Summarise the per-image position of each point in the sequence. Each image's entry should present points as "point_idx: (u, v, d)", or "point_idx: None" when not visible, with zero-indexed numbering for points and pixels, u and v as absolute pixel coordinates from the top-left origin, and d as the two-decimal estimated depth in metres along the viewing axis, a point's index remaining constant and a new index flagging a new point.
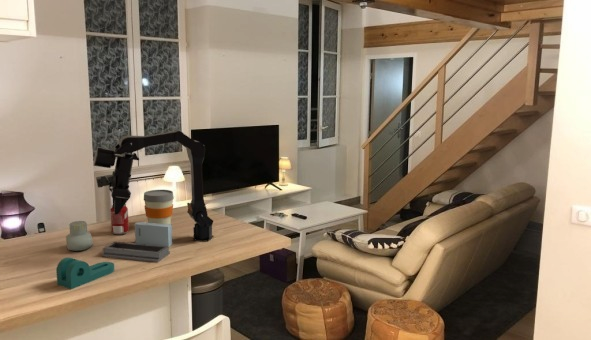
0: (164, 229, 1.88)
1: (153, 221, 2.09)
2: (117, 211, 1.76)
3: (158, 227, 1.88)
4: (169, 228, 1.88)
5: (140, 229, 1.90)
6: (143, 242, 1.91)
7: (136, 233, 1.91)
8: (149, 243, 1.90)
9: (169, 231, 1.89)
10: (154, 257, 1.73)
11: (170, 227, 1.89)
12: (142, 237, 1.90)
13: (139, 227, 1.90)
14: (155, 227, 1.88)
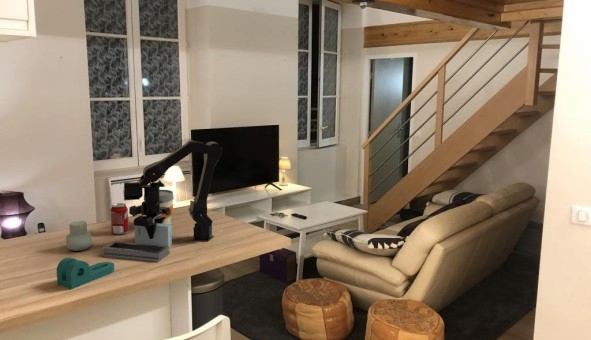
0: (164, 228, 1.88)
1: None
2: (151, 236, 1.89)
3: (158, 227, 1.88)
4: (169, 228, 1.88)
5: (139, 228, 1.90)
6: (143, 242, 1.91)
7: (136, 233, 1.91)
8: (149, 243, 1.90)
9: (169, 231, 1.89)
10: (154, 257, 1.73)
11: (170, 227, 1.89)
12: (142, 237, 1.90)
13: (139, 227, 1.90)
14: None
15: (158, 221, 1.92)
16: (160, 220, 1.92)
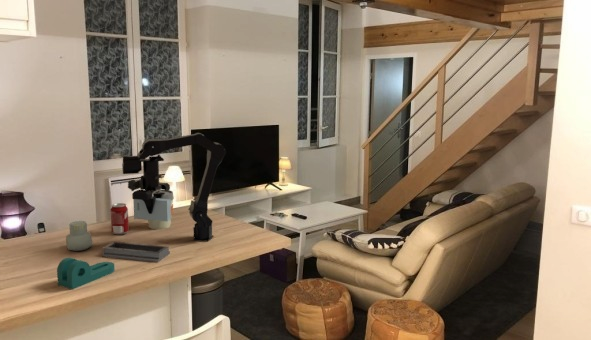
0: (163, 203, 1.86)
1: (153, 221, 2.09)
2: (150, 210, 1.87)
3: (157, 201, 1.86)
4: (168, 202, 1.87)
5: (138, 203, 1.88)
6: (142, 217, 1.89)
7: (135, 208, 1.89)
8: (148, 218, 1.88)
9: (168, 205, 1.87)
10: (154, 257, 1.73)
11: (169, 201, 1.87)
12: (141, 211, 1.88)
13: (138, 201, 1.88)
14: None
15: (158, 196, 1.90)
16: (159, 195, 1.90)
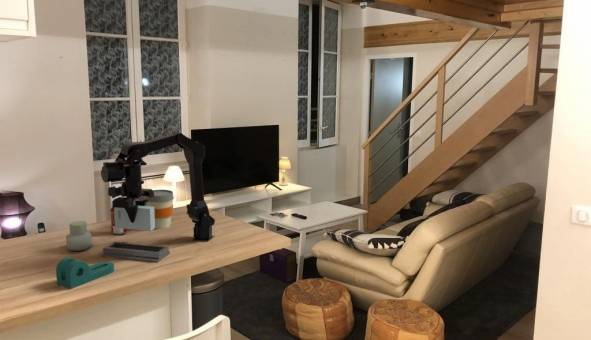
0: (146, 211, 1.73)
1: None
2: (132, 219, 1.74)
3: (139, 209, 1.74)
4: (151, 210, 1.74)
5: (119, 211, 1.76)
6: (123, 226, 1.76)
7: (116, 216, 1.76)
8: (130, 227, 1.76)
9: (151, 213, 1.74)
10: (154, 257, 1.73)
11: (152, 209, 1.75)
12: (123, 220, 1.76)
13: (119, 209, 1.76)
14: None
15: (140, 204, 1.77)
16: (142, 202, 1.77)
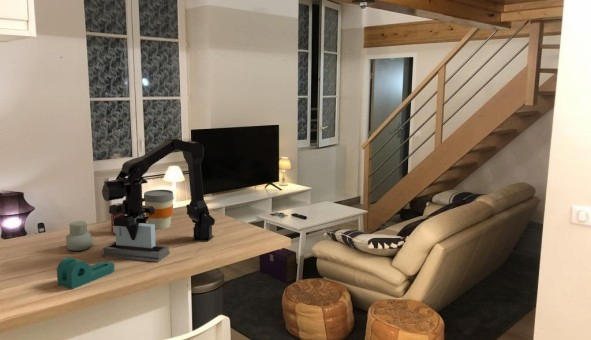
0: (146, 229, 1.75)
1: (153, 221, 2.09)
2: (132, 237, 1.76)
3: (140, 227, 1.75)
4: (152, 228, 1.75)
5: (120, 229, 1.77)
6: (124, 243, 1.78)
7: (117, 233, 1.78)
8: (131, 244, 1.77)
9: (152, 231, 1.76)
10: (154, 257, 1.73)
11: (153, 227, 1.76)
12: (124, 237, 1.77)
13: (120, 227, 1.77)
14: None
15: (141, 221, 1.79)
16: (143, 220, 1.78)
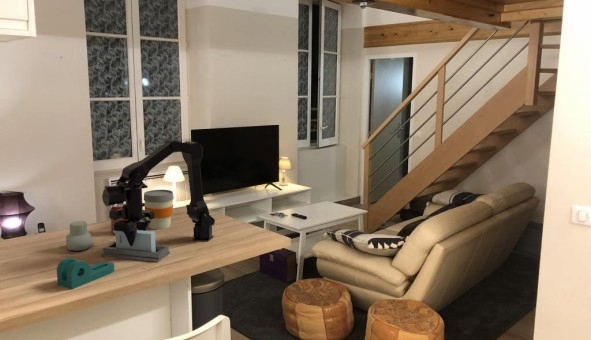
0: (147, 236, 1.75)
1: (153, 221, 2.09)
2: (131, 243, 1.75)
3: (140, 234, 1.75)
4: (152, 235, 1.76)
5: (121, 236, 1.77)
6: None
7: (117, 241, 1.78)
8: None
9: (152, 238, 1.76)
10: (154, 257, 1.73)
11: (153, 234, 1.77)
12: (124, 245, 1.78)
13: (120, 234, 1.77)
14: (137, 234, 1.76)
15: (143, 225, 1.80)
16: (145, 223, 1.80)
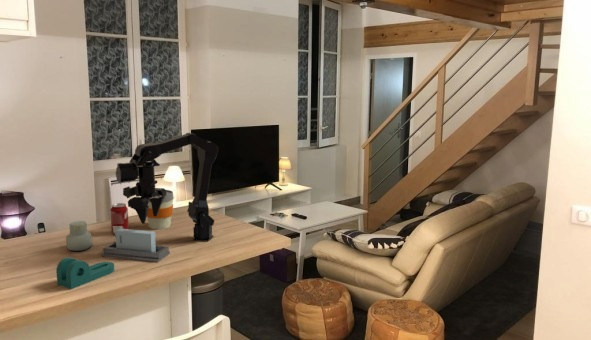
0: (147, 236, 1.75)
1: (153, 221, 2.09)
2: (142, 220, 1.78)
3: (140, 234, 1.75)
4: (152, 235, 1.76)
5: (121, 236, 1.77)
6: None
7: (117, 241, 1.78)
8: None
9: (152, 238, 1.76)
10: (154, 257, 1.73)
11: (153, 234, 1.77)
12: (124, 245, 1.78)
13: (120, 234, 1.77)
14: (137, 234, 1.76)
15: (158, 201, 1.87)
16: (159, 199, 1.87)
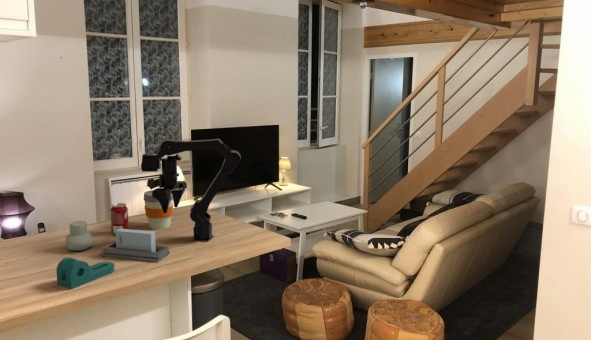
0: (147, 236, 1.75)
1: (153, 221, 2.09)
2: (164, 210, 1.90)
3: (140, 234, 1.75)
4: (152, 235, 1.76)
5: (121, 236, 1.77)
6: None
7: (117, 241, 1.78)
8: None
9: (152, 238, 1.76)
10: (154, 257, 1.73)
11: (153, 234, 1.77)
12: (124, 245, 1.78)
13: (120, 234, 1.77)
14: (137, 234, 1.76)
15: (179, 193, 1.99)
16: (180, 191, 1.99)
